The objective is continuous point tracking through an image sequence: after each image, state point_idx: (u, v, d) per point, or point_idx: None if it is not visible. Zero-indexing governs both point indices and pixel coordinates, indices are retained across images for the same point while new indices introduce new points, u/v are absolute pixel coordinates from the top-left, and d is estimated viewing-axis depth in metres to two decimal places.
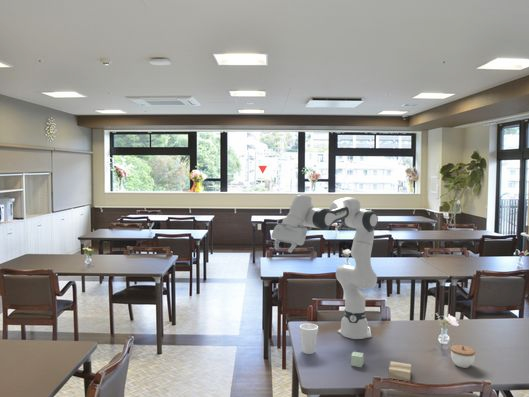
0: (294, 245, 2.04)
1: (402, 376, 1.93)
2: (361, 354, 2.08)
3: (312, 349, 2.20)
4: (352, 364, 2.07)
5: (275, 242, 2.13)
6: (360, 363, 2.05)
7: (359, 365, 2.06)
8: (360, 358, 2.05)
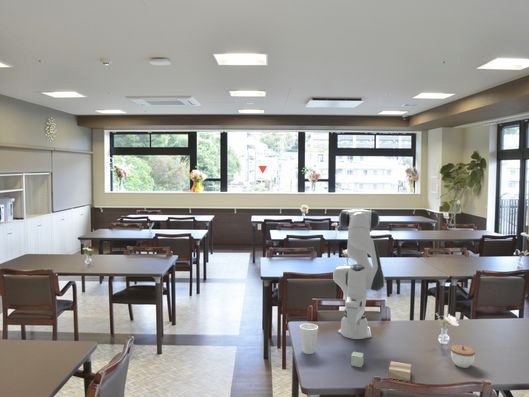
0: None
1: (402, 376, 1.93)
2: (361, 354, 2.08)
3: (312, 349, 2.20)
4: (352, 364, 2.07)
5: (355, 326, 2.01)
6: (360, 363, 2.05)
7: (359, 365, 2.06)
8: (360, 358, 2.05)
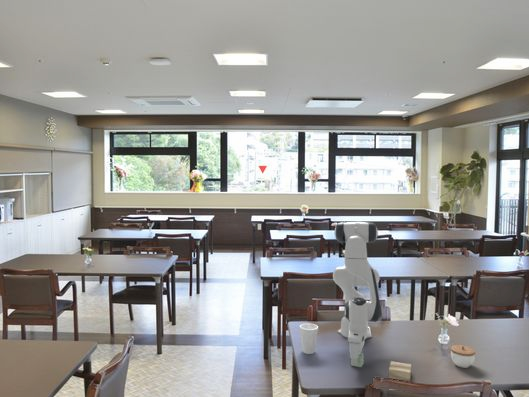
0: None
1: (402, 376, 1.93)
2: (361, 354, 2.08)
3: (312, 349, 2.20)
4: (352, 364, 2.07)
5: None
6: (360, 363, 2.05)
7: (359, 365, 2.06)
8: (360, 358, 2.05)
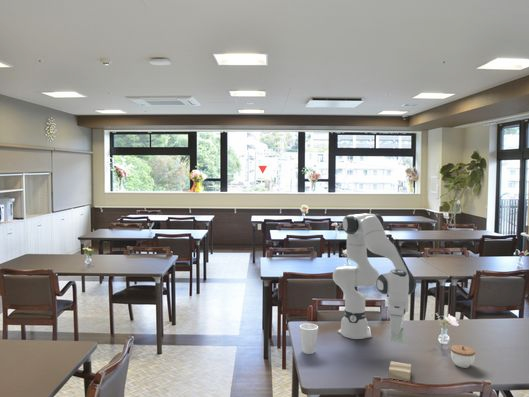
0: None
1: (402, 376, 1.93)
2: (401, 329, 1.96)
3: (312, 349, 2.20)
4: (392, 339, 1.95)
5: (398, 333, 1.92)
6: (400, 338, 1.94)
7: (400, 340, 1.94)
8: (401, 332, 1.94)
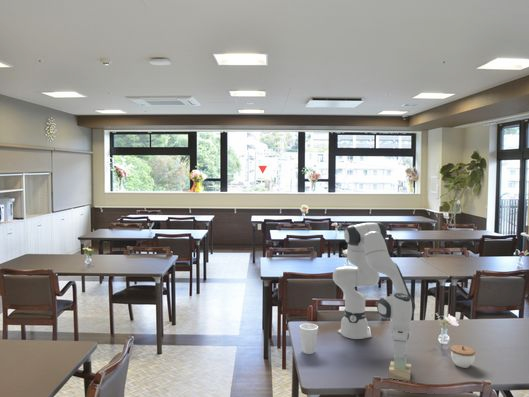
0: None
1: (402, 376, 1.93)
2: (404, 356, 1.97)
3: (312, 349, 2.20)
4: (395, 366, 1.96)
5: (402, 358, 1.92)
6: (403, 365, 1.94)
7: (403, 367, 1.94)
8: (404, 360, 1.94)
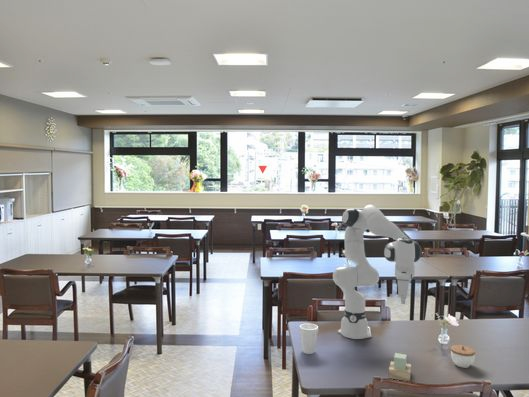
0: None
1: (402, 376, 1.93)
2: (404, 356, 1.97)
3: (312, 349, 2.20)
4: (395, 366, 1.96)
5: (405, 298, 2.01)
6: (403, 365, 1.94)
7: (403, 367, 1.94)
8: (404, 360, 1.94)
